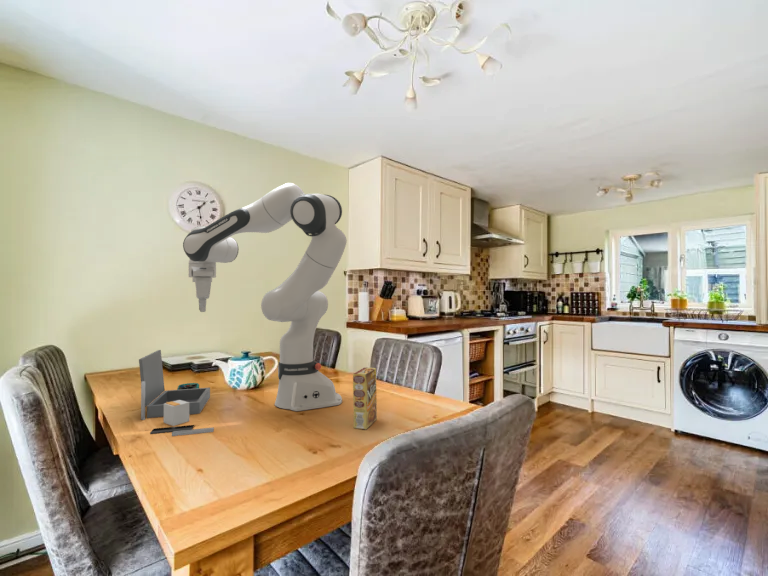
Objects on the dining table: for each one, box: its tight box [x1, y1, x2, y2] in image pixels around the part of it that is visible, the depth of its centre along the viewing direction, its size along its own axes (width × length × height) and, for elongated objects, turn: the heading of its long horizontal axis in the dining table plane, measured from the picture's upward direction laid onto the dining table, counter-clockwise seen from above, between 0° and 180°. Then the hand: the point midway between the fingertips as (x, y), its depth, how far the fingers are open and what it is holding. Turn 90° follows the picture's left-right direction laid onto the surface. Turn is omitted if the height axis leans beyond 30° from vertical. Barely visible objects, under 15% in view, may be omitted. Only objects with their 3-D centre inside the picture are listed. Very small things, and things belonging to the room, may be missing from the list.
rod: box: [171, 426, 215, 437], centre depth 99 cm, size 10×1×1 cm, turn 106°
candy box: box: [352, 367, 378, 430], centre depth 106 cm, size 9×4×15 cm, turn 162°
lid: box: [138, 349, 166, 408], centre depth 116 cm, size 14×18×1 cm
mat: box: [149, 424, 195, 435], centre depth 105 cm, size 10×10×1 cm
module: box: [163, 400, 190, 428], centre depth 105 cm, size 5×4×6 cm
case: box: [140, 381, 211, 421], centre depth 118 cm, size 15×20×12 cm
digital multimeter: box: [176, 382, 200, 390], centre depth 138 cm, size 7×15×3 cm, turn 24°
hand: (202, 311), depth 131 cm, fingers open, 8 cm apart
